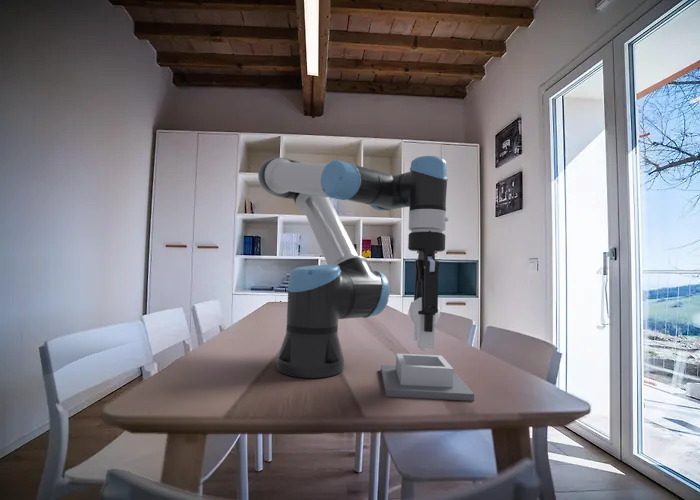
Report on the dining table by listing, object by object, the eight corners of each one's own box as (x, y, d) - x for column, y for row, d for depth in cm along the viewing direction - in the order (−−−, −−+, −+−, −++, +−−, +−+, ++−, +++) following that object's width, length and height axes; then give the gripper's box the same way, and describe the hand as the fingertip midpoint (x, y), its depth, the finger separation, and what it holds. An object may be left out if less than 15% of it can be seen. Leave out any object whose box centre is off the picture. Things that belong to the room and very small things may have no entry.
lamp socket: (385, 396, 65) (386, 370, 65) (380, 370, 81) (381, 349, 81) (474, 400, 64) (474, 374, 64) (451, 373, 80) (452, 352, 80)
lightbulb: (439, 355, 69) (441, 299, 70) (407, 352, 70) (409, 297, 71) (438, 348, 75) (439, 296, 75) (409, 346, 76) (410, 295, 77)
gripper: (457, 227, 64) (454, 356, 63) (435, 236, 83) (432, 335, 82) (415, 226, 64) (412, 354, 63) (403, 235, 83) (400, 334, 82)
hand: (423, 343), depth 73 cm, fingers closed on lightbulb, 6 cm apart
